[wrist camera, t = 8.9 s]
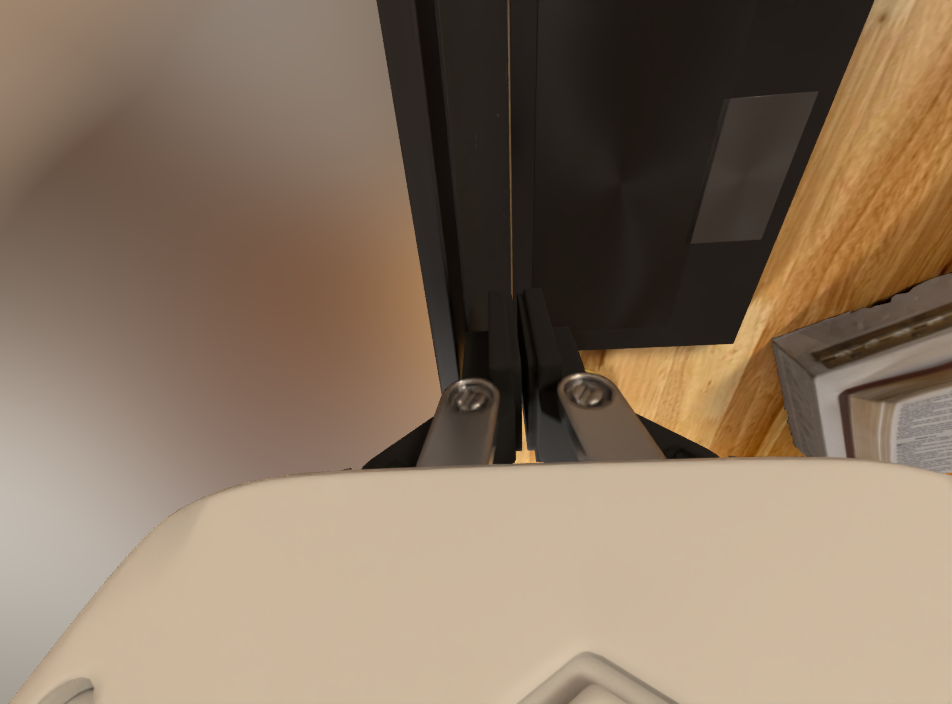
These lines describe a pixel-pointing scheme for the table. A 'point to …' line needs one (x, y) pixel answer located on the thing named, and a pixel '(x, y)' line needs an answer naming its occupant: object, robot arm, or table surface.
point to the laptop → (662, 155)
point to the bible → (874, 381)
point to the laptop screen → (454, 156)
